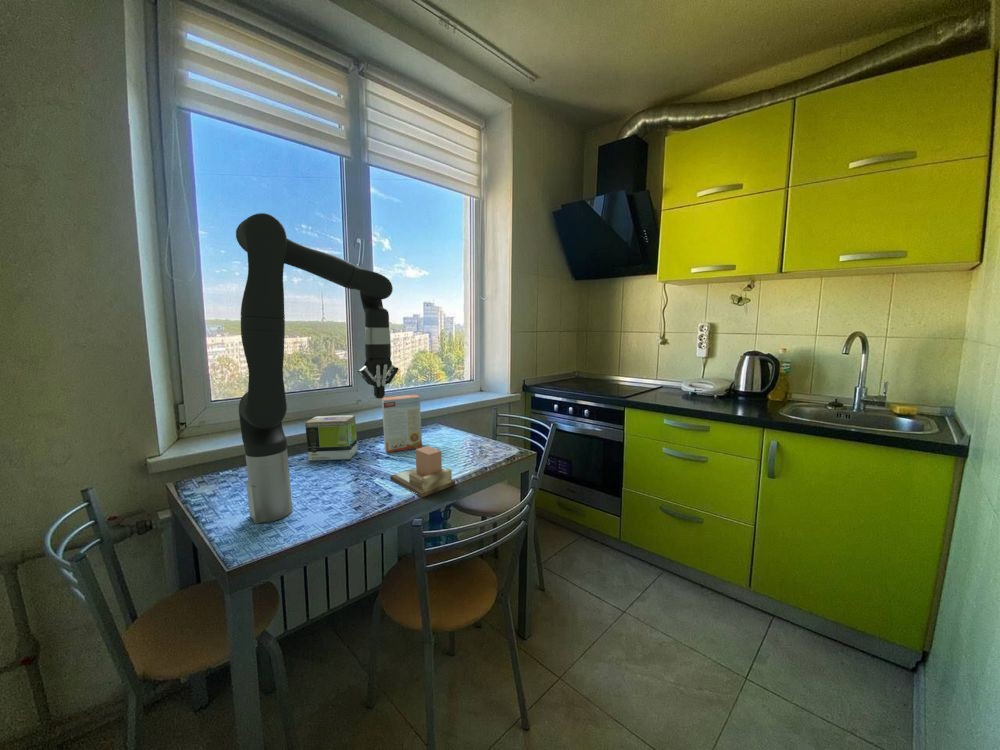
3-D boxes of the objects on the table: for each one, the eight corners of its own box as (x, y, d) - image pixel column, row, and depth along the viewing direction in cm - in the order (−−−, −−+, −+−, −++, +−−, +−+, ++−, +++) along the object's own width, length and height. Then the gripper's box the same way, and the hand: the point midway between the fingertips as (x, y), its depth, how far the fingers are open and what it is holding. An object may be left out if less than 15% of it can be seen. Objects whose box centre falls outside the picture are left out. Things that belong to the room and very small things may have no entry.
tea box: (358, 451, 150) (355, 414, 148) (349, 460, 140) (347, 420, 138) (318, 452, 149) (315, 414, 147) (307, 461, 139) (304, 421, 137)
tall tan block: (429, 487, 114) (428, 454, 113) (416, 480, 119) (415, 449, 117) (442, 482, 117) (441, 451, 116) (428, 476, 122) (427, 445, 121)
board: (422, 497, 110) (421, 480, 109) (390, 479, 123) (389, 463, 122) (455, 484, 118) (454, 468, 118) (422, 469, 131) (421, 454, 130)
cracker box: (419, 443, 158) (417, 393, 155) (422, 448, 153) (420, 396, 150) (383, 448, 153) (381, 396, 150) (386, 453, 147) (383, 399, 144)
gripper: (363, 343, 110) (365, 402, 113) (403, 342, 120) (404, 397, 122) (351, 342, 116) (353, 399, 118) (390, 341, 125) (392, 394, 127)
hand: (379, 398), depth 120 cm, fingers closed
